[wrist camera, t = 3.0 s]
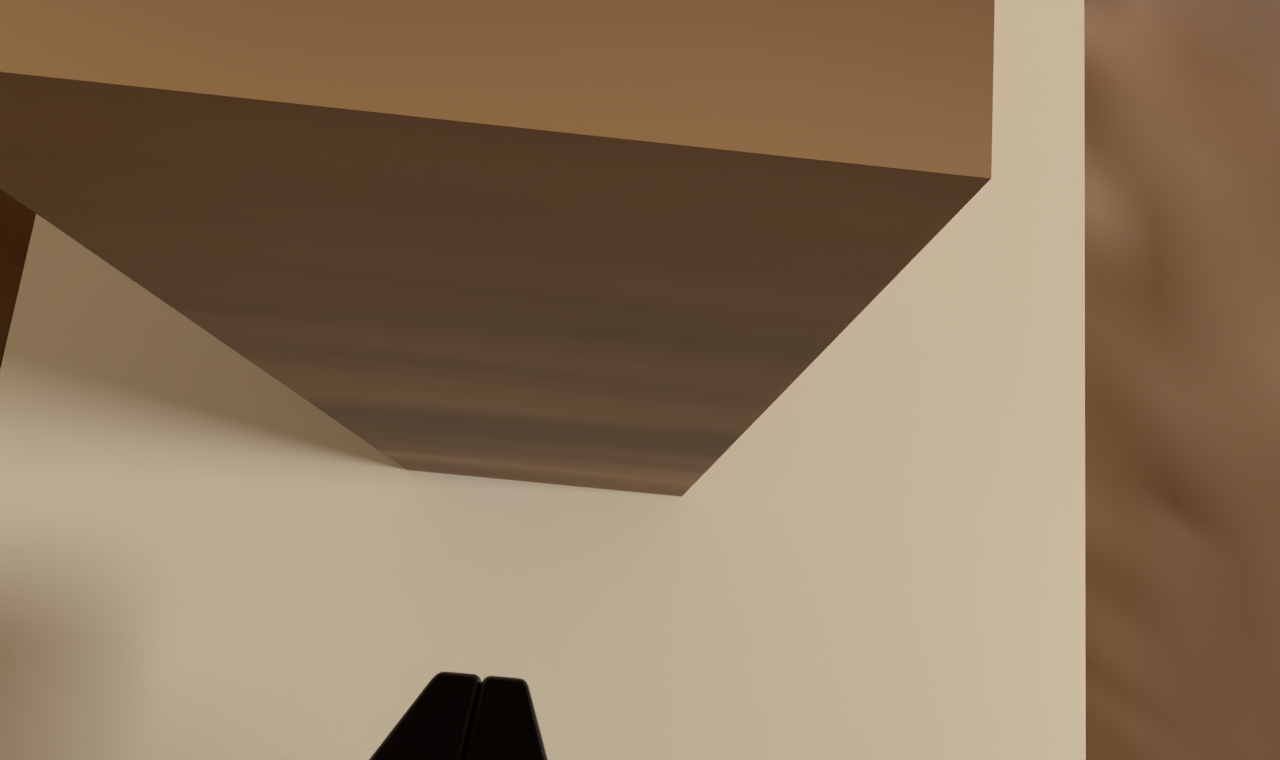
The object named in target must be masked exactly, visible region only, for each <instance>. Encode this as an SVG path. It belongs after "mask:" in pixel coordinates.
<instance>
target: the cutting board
mask: <svg viewBox="0 0 1280 760" xmlns="http://www.w3.org/2000/svg"><path fill="white" fill-rule="evenodd" d="M440 672H456V673H467V674H475V675H478V676H479V677H480V678H481V681H483V680H484V678H486V677H488V676H501V677H512V678H521V679H523V680H525V681H526V682H527V684H528V686H529V689H530V693H531V697H532V701H533V705H534V709H535V712H536V716H537V720H538V724H539V728H540V732H541V736H542V739H543V743H544V747H545V751H546V755H547V759H548V760H1086V702H1085V186H1084V0H995V8H994V60H993V113H992V166H991V179H990V180H989V181H988V182H987V183H986V184H985V185H984V186H983V187H982V188H981V190H980V191H979V192H978V193H977V194H976V195H975V196H974V197H973V198H972V199H971V200H970V201H969V202H968V203H967V204H966V205H965V206H964V207H963V208H962V209H961V210H960V211H959V212H958V213H957V214H956V215H955V216H954V217H953V218H952V219H951V220H950V221H949V222H948V223H947V224H946V226H945V227H944V228H943V229H942V230H941V231H940V232H939V233H938V234H937V235H936V236H935V237H934V238H933V239H932V240H931V241H930V242H929V243H928V244H927V245H926V246H925V247H924V248H923V249H922V250H921V251H920V252H919V253H918V254H917V255H916V256H915V257H914V258H913V259H912V260H911V261H910V263H909V264H908V265H907V266H906V267H905V268H904V269H903V270H902V271H901V272H900V273H899V274H898V275H897V276H896V277H895V278H894V279H893V280H892V281H891V282H890V283H889V284H888V285H887V286H886V287H885V288H884V289H883V290H882V291H881V292H880V293H879V294H878V295H877V296H876V297H875V299H874V300H873V301H872V302H871V303H870V304H869V305H868V306H867V307H866V308H865V309H864V310H863V311H862V312H861V313H860V314H859V315H858V316H857V317H856V318H855V319H854V320H853V321H852V322H851V323H850V324H849V325H848V326H847V327H846V328H845V329H844V330H843V331H842V332H841V333H840V334H839V336H838V337H837V338H836V339H835V340H834V341H833V342H832V343H831V344H830V345H829V346H828V347H827V348H826V349H825V350H824V351H823V352H822V353H821V354H820V355H819V356H818V357H817V358H816V359H815V360H814V361H813V362H812V363H811V364H810V365H809V366H808V367H807V368H806V369H805V370H804V371H803V373H802V374H801V375H800V376H799V377H798V378H797V379H796V380H795V381H794V382H793V383H792V384H791V385H790V386H789V387H788V388H787V389H786V390H785V391H784V392H783V393H782V394H781V395H780V396H779V397H778V398H777V399H776V400H775V401H774V402H773V403H772V404H771V405H770V406H769V407H768V409H767V410H766V411H765V412H764V413H763V414H762V415H761V416H760V417H759V418H758V419H757V420H756V421H755V422H754V423H753V424H752V425H751V426H750V427H749V428H748V429H747V430H746V431H745V432H744V433H743V434H742V435H741V436H740V437H739V438H738V439H737V440H736V441H735V442H734V443H733V444H732V446H731V447H730V448H729V449H728V450H727V451H726V452H725V453H724V454H723V455H722V456H721V457H720V458H719V459H718V460H717V461H716V462H715V463H714V464H713V465H712V466H711V467H710V468H709V469H708V470H707V471H706V472H705V473H704V474H703V475H702V476H701V477H700V478H699V479H698V480H697V482H696V483H695V484H694V485H693V486H692V487H691V488H690V489H689V490H688V491H687V492H686V493H685V494H684V495H683V496H682V497H681V496H671V495H660V494H650V493H640V492H629V491H619V490H609V489H598V488H588V487H578V486H567V485H557V484H547V483H536V482H526V481H516V480H505V479H495V478H485V477H474V476H464V475H454V474H443V473H433V472H422V471H412V470H406V469H405V468H404V467H402V466H401V465H399V464H398V463H396V462H395V461H393V460H392V459H391V458H389V457H388V456H386V455H385V454H383V453H382V452H380V451H379V450H378V449H376V448H375V447H373V446H372V445H370V444H369V443H367V442H366V441H365V440H363V439H362V438H360V437H359V436H357V435H356V434H354V433H353V432H351V431H350V430H349V429H347V428H346V427H344V426H343V425H341V424H340V423H338V422H337V421H336V420H334V419H333V418H331V417H330V416H328V415H327V414H325V413H324V412H323V411H321V410H320V409H318V408H317V407H315V406H314V405H312V404H311V403H310V402H308V401H307V400H305V399H304V398H302V397H301V396H299V395H298V394H297V393H295V392H294V391H292V390H291V389H289V388H288V387H286V386H285V385H283V384H282V383H281V382H279V381H278V380H276V379H275V378H273V377H272V376H270V375H269V374H268V373H266V372H265V371H263V370H262V369H260V368H259V367H257V366H256V365H255V364H253V363H252V362H250V361H249V360H247V359H246V358H244V357H243V356H242V355H240V354H239V353H237V352H236V351H234V350H233V349H231V348H230V347H229V346H227V345H226V344H224V343H223V342H221V341H220V340H218V339H217V338H216V337H214V336H213V335H211V334H210V333H208V332H207V331H205V330H204V329H202V328H201V327H200V326H198V325H197V324H195V323H194V322H192V321H191V320H189V319H188V318H187V317H185V316H184V315H182V314H181V313H179V312H178V311H176V310H175V309H174V308H172V307H171V306H169V305H168V304H166V303H165V302H163V301H162V300H161V299H159V298H158V297H156V296H155V295H153V294H152V293H150V292H149V291H148V290H146V289H145V288H143V287H142V286H140V285H139V284H137V283H136V282H134V281H133V280H132V279H130V278H129V277H127V276H126V275H124V274H123V273H121V272H120V271H119V270H117V269H116V268H114V267H113V266H111V265H110V264H108V263H107V262H106V261H104V260H103V259H101V258H100V257H98V256H97V255H95V254H94V253H93V252H91V251H90V250H88V249H87V248H85V247H84V246H82V245H81V244H80V243H78V242H77V241H75V240H74V239H72V238H71V237H69V236H68V235H66V234H65V233H64V232H62V231H61V230H59V229H58V228H56V227H55V226H53V225H52V224H51V223H49V222H48V221H46V220H45V219H43V218H42V217H40V216H39V215H38V214H36V217H35V221H34V226H33V230H32V234H31V239H30V243H29V247H28V252H27V256H26V260H25V265H24V269H23V273H22V278H21V282H20V286H19V290H18V295H17V299H16V303H15V308H14V312H13V316H12V321H11V325H10V329H9V334H8V338H7V342H6V347H5V351H4V355H3V360H2V364H1V368H0V760H369V759H370V758H371V756H372V755H373V754H374V753H375V751H376V750H377V749H378V747H379V746H380V745H381V743H382V742H383V741H384V740H385V738H386V737H387V736H388V734H389V733H390V732H391V731H392V729H393V728H394V727H395V725H396V724H397V723H398V722H399V720H400V719H401V718H402V716H403V715H404V714H405V713H406V711H407V710H408V709H409V707H410V706H411V705H412V704H413V702H414V701H415V700H416V698H417V697H418V696H419V694H420V693H421V692H422V691H423V689H424V688H425V687H426V685H427V684H428V683H429V682H430V680H431V679H432V678H433V677H434V676H435V675H436V674H438V673H440Z"/></svg>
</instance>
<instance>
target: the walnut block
mask: <svg viewBox="0 0 1280 760" xmlns="http://www.w3.org/2000/svg"><path fill="white" fill-rule="evenodd" d="M994 8H995V0H0V189H1V190H3V191H4V192H6V193H7V194H9V195H10V196H12V197H13V198H14V199H16V200H17V201H19V202H20V203H22V204H23V205H25V206H26V207H27V208H29V209H30V210H32V211H33V212H35V213H36V214H38V215H39V216H40V217H42V218H43V219H45V220H46V221H48V222H49V223H51V224H52V225H53V226H55V227H56V228H58V229H59V230H61V231H62V232H64V233H65V234H66V235H68V236H69V237H71V238H72V239H74V240H75V241H77V242H78V243H80V244H81V245H82V246H84V247H85V248H87V249H88V250H90V251H91V252H93V253H94V254H95V255H97V256H98V257H100V258H101V259H103V260H104V261H106V262H107V263H108V264H110V265H111V266H113V267H114V268H116V269H117V270H119V271H120V272H121V273H123V274H124V275H126V276H127V277H129V278H130V279H132V280H133V281H134V282H136V283H137V284H139V285H140V286H142V287H143V288H145V289H146V290H148V291H149V292H150V293H152V294H153V295H155V296H156V297H158V298H159V299H161V300H162V301H163V302H165V303H166V304H168V305H169V306H171V307H172V308H174V309H175V310H176V311H178V312H179V313H181V314H182V315H184V316H185V317H187V318H188V319H189V320H191V321H192V322H194V323H195V324H197V325H198V326H200V327H201V328H202V329H204V330H205V331H207V332H208V333H210V334H211V335H213V336H214V337H216V338H217V339H218V340H220V341H221V342H223V343H224V344H226V345H227V346H229V347H230V348H231V349H233V350H234V351H236V352H237V353H239V354H240V355H242V356H243V357H244V358H246V359H247V360H249V361H250V362H252V363H253V364H255V365H256V366H257V367H259V368H260V369H262V370H263V371H265V372H266V373H268V374H269V375H270V376H272V377H273V378H275V379H276V380H278V381H279V382H281V383H282V384H283V385H285V386H286V387H288V388H289V389H291V390H292V391H294V392H295V393H297V394H298V395H299V396H301V397H302V398H304V399H305V400H307V401H308V402H310V403H311V404H312V405H314V406H315V407H317V408H318V409H320V410H321V411H323V412H324V413H325V414H327V415H328V416H330V417H331V418H333V419H334V420H336V421H337V422H338V423H340V424H341V425H343V426H344V427H346V428H347V429H349V430H350V431H351V432H353V433H354V434H356V435H357V436H359V437H360V438H362V439H363V440H365V441H366V442H367V443H369V444H370V445H372V446H373V447H375V448H376V449H378V450H379V451H380V452H382V453H383V454H385V455H386V456H388V457H389V458H391V459H392V460H393V461H395V462H396V463H398V464H399V465H401V466H402V467H404V468H405V469H406V470H412V471H422V472H433V473H443V474H454V475H464V476H474V477H485V478H495V479H505V480H516V481H526V482H536V483H547V484H557V485H567V486H578V487H588V488H598V489H609V490H619V491H629V492H640V493H650V494H660V495H671V496H681V497H682V496H683V495H684V494H685V493H686V492H687V491H688V490H689V489H690V488H691V487H692V486H693V485H694V484H695V483H696V482H697V480H698V479H699V478H700V477H701V476H702V475H703V474H704V473H705V472H706V471H707V470H708V469H709V468H710V467H711V466H712V465H713V464H714V463H715V462H716V461H717V460H718V459H719V458H720V457H721V456H722V455H723V454H724V453H725V452H726V451H727V450H728V449H729V448H730V447H731V446H732V444H733V443H734V442H735V441H736V440H737V439H738V438H739V437H740V436H741V435H742V434H743V433H744V432H745V431H746V430H747V429H748V428H749V427H750V426H751V425H752V424H753V423H754V422H755V421H756V420H757V419H758V418H759V417H760V416H761V415H762V414H763V413H764V412H765V411H766V410H767V409H768V407H769V406H770V405H771V404H772V403H773V402H774V401H775V400H776V399H777V398H778V397H779V396H780V395H781V394H782V393H783V392H784V391H785V390H786V389H787V388H788V387H789V386H790V385H791V384H792V383H793V382H794V381H795V380H796V379H797V378H798V377H799V376H800V375H801V374H802V373H803V371H804V370H805V369H806V368H807V367H808V366H809V365H810V364H811V363H812V362H813V361H814V360H815V359H816V358H817V357H818V356H819V355H820V354H821V353H822V352H823V351H824V350H825V349H826V348H827V347H828V346H829V345H830V344H831V343H832V342H833V341H834V340H835V339H836V338H837V337H838V336H839V334H840V333H841V332H842V331H843V330H844V329H845V328H846V327H847V326H848V325H849V324H850V323H851V322H852V321H853V320H854V319H855V318H856V317H857V316H858V315H859V314H860V313H861V312H862V311H863V310H864V309H865V308H866V307H867V306H868V305H869V304H870V303H871V302H872V301H873V300H874V299H875V297H876V296H877V295H878V294H879V293H880V292H881V291H882V290H883V289H884V288H885V287H886V286H887V285H888V284H889V283H890V282H891V281H892V280H893V279H894V278H895V277H896V276H897V275H898V274H899V273H900V272H901V271H902V270H903V269H904V268H905V267H906V266H907V265H908V264H909V263H910V261H911V260H912V259H913V258H914V257H915V256H916V255H917V254H918V253H919V252H920V251H921V250H922V249H923V248H924V247H925V246H926V245H927V244H928V243H929V242H930V241H931V240H932V239H933V238H934V237H935V236H936V235H937V234H938V233H939V232H940V231H941V230H942V229H943V228H944V227H945V226H946V224H947V223H948V222H949V221H950V220H951V219H952V218H953V217H954V216H955V215H956V214H957V213H958V212H959V211H960V210H961V209H962V208H963V207H964V206H965V205H966V204H967V203H968V202H969V201H970V200H971V199H972V198H973V197H974V196H975V195H976V194H977V193H978V192H979V191H980V190H981V188H982V187H983V186H984V185H985V184H986V183H987V182H988V181H989V180H990V179H991V166H992V113H993V60H994Z"/></svg>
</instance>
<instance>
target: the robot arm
mask: <svg viewBox="0 0 1280 760" xmlns="http://www.w3.org/2000/svg"><path fill="white" fill-rule="evenodd" d="M369 760H548V759H547V755H546V751H545V747H544V743H543V739H542V736H541V732H540V728H539V724H538V720H537V716H536V712H535V709H534V705H533V701H532V697H531V693H530V689H529V686H528V684H527V682H526V681H525V680H523V679H521V678H512V677H501V676H488V677H486V678H484V680H483V681H481V678H480V677H479V676H478V675H475V674H467V673H456V672H440V673H438V674H436V675H435V676H434V677H433V678H432V679H431V680H430V682H429V683H428V684H427V685H426V687H425V688H424V689H423V691H422V692H421V693H420V694H419V696H418V697H417V698H416V700H415V701H414V702H413V704H412V705H411V706H410V707H409V709H408V710H407V711H406V713H405V714H404V715H403V716H402V718H401V719H400V720H399V722H398V723H397V724H396V725H395V727H394V728H393V729H392V731H391V732H390V733H389V734H388V736H387V737H386V738H385V740H384V741H383V742H382V743H381V745H380V746H379V747H378V749H377V750H376V751H375V753H374V754H373V755H372V756H371V758H370V759H369Z"/></svg>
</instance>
